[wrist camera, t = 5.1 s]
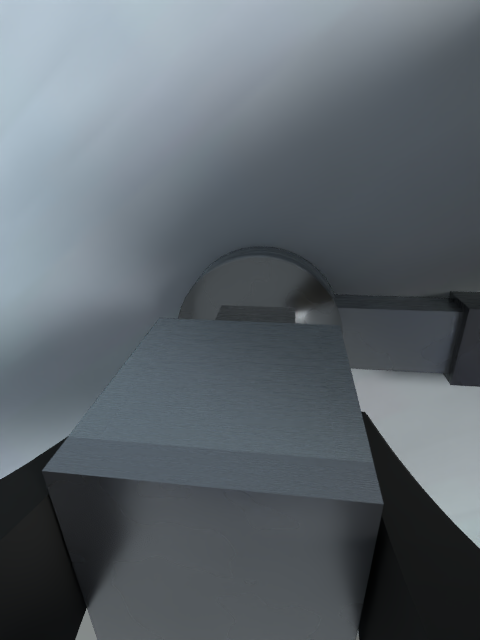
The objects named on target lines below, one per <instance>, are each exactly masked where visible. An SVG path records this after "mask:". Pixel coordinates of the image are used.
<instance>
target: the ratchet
mask: <svg viewBox="0 0 480 640" xmlns="http://www.w3.org/2000/svg"><path fill="white" fill-rule="evenodd" d="M178 319H199V320H223V321H248V322H273V323H298V324H323V325H340V328H341V332H342V336H343V340H344V344H345V348H346V352H347V356H348V360H349V364H350V368H356V369H374V370H393V371H411V372H430V373H443V374H444V376H445V377H446V379H447V380H448V382H449V383H450V385H461V386H478V387H480V292H455V291H450V295H449V298H432V297H399V296H366V295H334V293H333V291H332V289H331V287H330V285H329V283H328V282H327V280H326V279H325V277H324V276H323V275H322V274H321V273H320V271H319V270H318V269H317V268H315V267H314V266H313V265H312V264H311V263H309V262H308V261H307V260H305V259H304V258H302V257H300V256H298V255H296V254H294V253H292V252H289V251H286V250H283V249H278V248H273V247H249V248H244V249H240V250H237V251H234V252H231V253H229V254H227V255H225V256H223V257H221V258H220V259H218V260H217V261H215V262H214V263H213V264H212V265H210V266H209V267H208V268H207V269H206V270H205V272H204V273H203V274H202V275H201V276H200V278H199V279H198V280H197V282H196V283H195V284H194V286H193V287H192V288H191V290H190V291H189V293H188V294H187V296H186V298H185V300H184V302H183V304H182V306H181V310H180V313H179V317H178Z"/></svg>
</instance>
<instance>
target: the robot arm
mask: <svg viewBox="0 0 480 640" xmlns="http://www.w3.org/2000/svg"><path fill="white" fill-rule="evenodd" d="M361 413H362V417H363V422H364V426H365V430H366V434H367V438H368V442H369V446H370V450H371V454H372V458H373V462H374V467H375V471H376V475H377V479H378V483H379V487H380V491H381V495H382V499H383V503H384V505H383V510H382V515H381V520H380V525H379V530H378V534H377V539H376V544H375V549H374V554H373V559H372V563H371V568H370V573H369V578H368V583H367V588H366V593H365V597H364V602H363V607H362V612H361V617H360V622H359V626H358V631H359V640H480V548H479V547H477V546H476V545H475V544H474V543H473V542H472V541H471V540H470V539H469V538H468V537H467V536H466V535H465V534H464V533H463V532H462V531H461V530H460V529H459V528H458V527H457V526H456V525H455V524H454V522H453V521H452V520H451V519H450V518H449V517H448V516H447V515H446V514H445V513H444V512H443V511H442V510H441V509H440V507H439V506H438V505H437V504H436V503H435V502H434V501H433V500H432V498H431V497H430V496H429V495H428V494H427V493H426V492H425V490H424V489H423V488H422V487H421V486H420V485H419V483H418V482H417V481H416V480H415V479H414V477H413V476H412V475H411V474H410V472H409V471H408V470H407V469H406V467H405V466H404V465H403V464H402V462H401V461H400V460H399V458H398V457H397V456H396V455H395V453H394V452H393V451H392V449H391V448H390V446H389V445H388V444H387V442H386V441H385V440H384V438H383V437H382V435H381V434H380V433H379V431H378V430H377V428H376V427H375V425H374V424H373V422H372V421H371V419H370V418H369V417H368V415H367V414H366V413H365V412H361ZM67 438H68V437H66V438H65V439H63V440H62V441H60V442H59V443H57V444H56V445H54V446H53V447H51V448H50V449H48V450H47V451H45V452H44V453H42V454H41V455H39V456H38V457H36V458H35V459H33V460H32V461H30V462H29V463H27V464H26V465H24V466H22V467H21V468H19V469H17V470H16V471H14V472H12V473H11V474H9V475H7V476H6V477H4V478H2V479H0V640H75V638H76V636H77V633H78V630H79V627H80V624H81V622H82V619H83V616H84V614H85V611H86V608H87V606H86V603H85V600H84V597H83V594H82V591H81V588H80V585H79V582H78V579H77V576H76V573H75V570H74V567H73V564H72V561H71V558H70V555H69V552H68V549H67V546H66V543H65V540H64V537H63V534H62V531H61V527H60V524H59V521H58V518H57V515H56V512H55V509H54V506H53V503H52V500H51V497H50V494H49V491H48V488H47V485H46V482H45V479H44V476H43V473H42V470H43V469H44V467H45V466H46V465H47V464H48V462H49V461H50V460H51V458H52V457H53V456H54V454H55V453H56V452H57V451H58V449H59V448H60V447H61V445H62V444H63V443H64V442H65V440H66V439H67Z"/></svg>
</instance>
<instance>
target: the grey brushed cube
mask: <svg viewBox="0 0 480 640" xmlns="http://www.w3.org/2000/svg"><path fill="white" fill-rule="evenodd" d="M42 473H43V476H44V479H45V482H46V485H47V488H48V491H49V494H50V497H51V500H52V503H53V506H54V509H55V512H56V515H57V518H58V521H59V524H60V527H61V531H62V534H63V537H64V540H65V543H66V546H67V549H68V552H69V555H70V558H71V561H72V564H73V567H74V570H75V573H76V576H77V579H78V582H79V585H80V588H81V591H82V594H83V597H84V600H85V603H86V606H87V609H88V612H89V615H90V618H91V622H92V625H93V628H94V631H95V634H96V636H97V640H356V636H357V631H358V626H359V622H360V617H361V612H362V607H363V602H364V597H365V593H366V588H367V583H368V578H369V573H370V568H371V563H372V559H373V554H374V549H375V544H376V539H377V534H378V530H379V525H380V520H381V515H382V510H383V505H384V503H383V499H382V495H381V491H380V487H379V483H378V479H377V475H376V471H375V467H374V462H373V458H372V454H371V450H370V446H369V442H368V438H367V434H366V430H365V426H364V422H363V417H362V413H361V409H360V405H359V401H358V397H357V393H356V389H355V385H354V381H353V377H352V373H351V368H350V364H349V360H348V356H347V352H346V348H345V344H344V340H343V336H342V332H341V328H340V325H323V324H298V323H273V322H248V321H223V320H199V319H174V318H159V320H158V321H157V322H156V323H155V325H154V326H153V327H152V329H151V330H150V331H149V333H148V334H147V335H146V336H145V338H144V339H143V340H142V342H141V343H140V344H139V345H138V347H137V348H136V349H135V351H134V352H133V353H132V355H131V356H130V357H129V358H128V360H127V361H126V362H125V364H124V365H123V366H122V368H121V369H120V370H119V371H118V373H117V374H116V375H115V377H114V378H113V379H112V381H111V382H110V383H109V384H108V386H107V387H106V388H105V390H104V391H103V392H102V393H101V395H100V396H99V397H98V399H97V400H96V401H95V403H94V404H93V405H92V406H91V408H90V409H89V410H88V412H87V413H86V414H85V416H84V417H83V418H82V419H81V421H80V422H79V423H78V425H77V426H76V427H75V429H74V430H73V431H72V432H71V434H70V435H69V436H68V438H67V439H66V440H65V442H64V443H63V444H62V445H61V447H60V448H59V449H58V451H57V452H56V453H55V454H54V456H53V457H52V458H51V460H50V461H49V462H48V464H47V465H46V466H45V467H44V469H43V470H42Z"/></svg>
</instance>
